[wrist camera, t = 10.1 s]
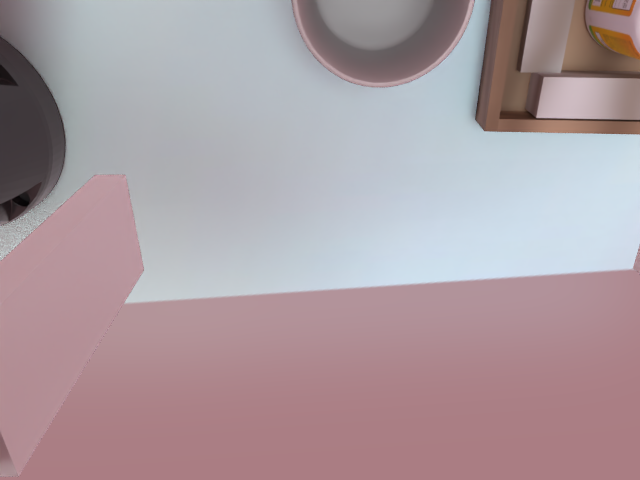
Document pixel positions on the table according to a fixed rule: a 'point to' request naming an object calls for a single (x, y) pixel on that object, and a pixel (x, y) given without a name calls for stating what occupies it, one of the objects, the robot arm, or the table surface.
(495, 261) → the table surface
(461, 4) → the mug
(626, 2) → the supplement bottle
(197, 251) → the table surface
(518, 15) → the walled box
